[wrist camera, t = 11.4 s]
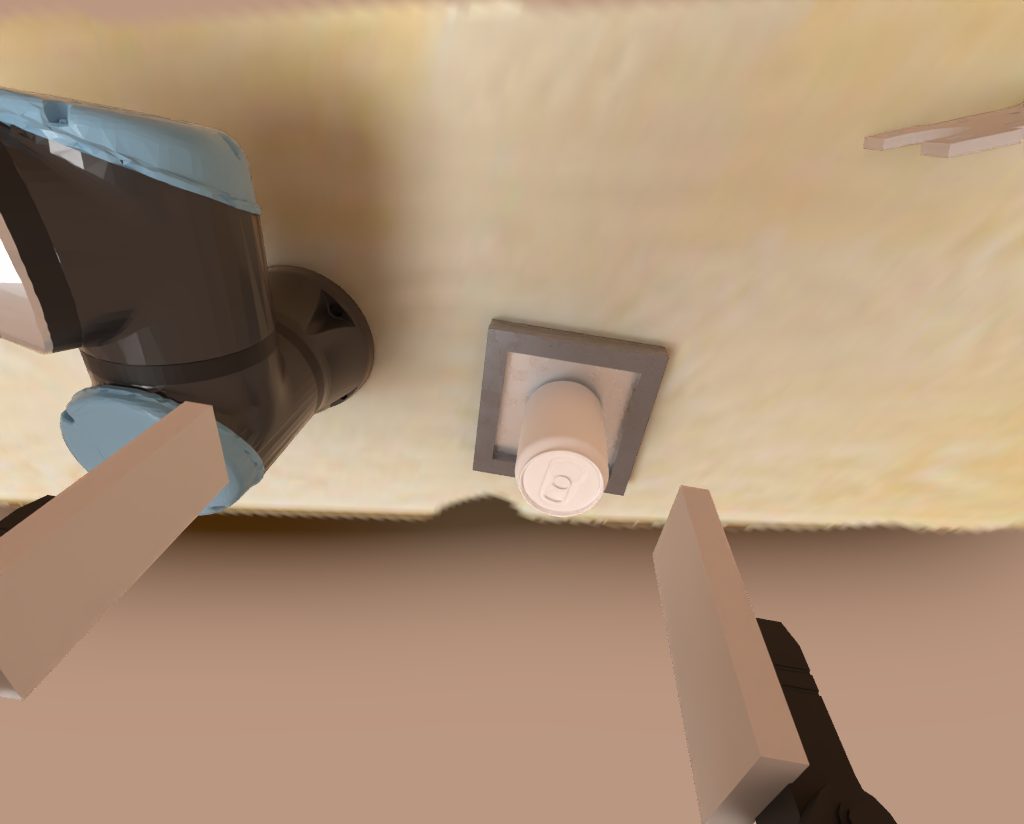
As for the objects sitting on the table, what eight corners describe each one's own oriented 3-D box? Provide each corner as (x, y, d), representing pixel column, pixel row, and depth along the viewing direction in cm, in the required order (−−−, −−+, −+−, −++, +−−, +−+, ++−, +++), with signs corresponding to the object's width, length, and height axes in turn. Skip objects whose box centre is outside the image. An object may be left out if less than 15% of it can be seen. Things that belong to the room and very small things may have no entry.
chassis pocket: (476, 456, 57) (472, 470, 55) (492, 319, 48) (488, 328, 46) (621, 481, 57) (623, 495, 54) (664, 347, 48) (668, 357, 46)
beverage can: (615, 394, 50) (627, 466, 39) (582, 453, 54) (585, 532, 44) (541, 366, 49) (533, 431, 39) (513, 428, 53) (499, 502, 43)
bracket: (1053, 38, 33) (1217, 12, 25) (1033, 111, 36) (1179, 110, 27) (871, 82, 36) (964, 71, 27) (863, 148, 38) (947, 157, 29)
